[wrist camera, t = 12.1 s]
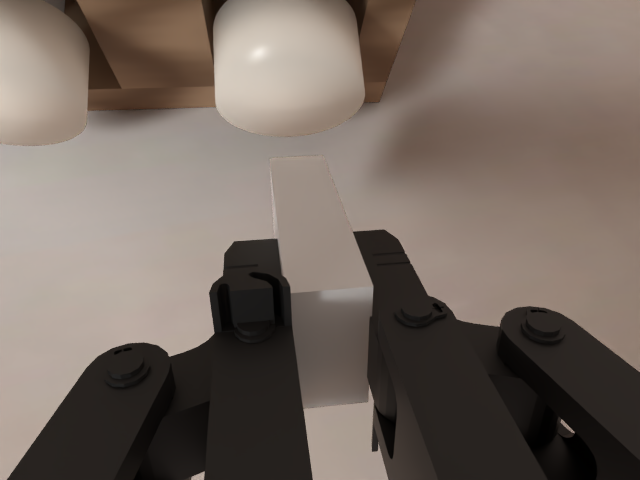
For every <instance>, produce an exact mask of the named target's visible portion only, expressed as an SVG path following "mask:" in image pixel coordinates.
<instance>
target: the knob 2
mask: <svg viewBox="0 0 640 480" xmlns="http://www.w3.org/2000/svg"><path fill="white" fill-rule="evenodd" d="M213 47H214V78H215V104H216V107H217V110H218V112H219V113H220V115H221V116H222V117H223V118H224V119H225V120H226V121H228V122H229V123H230V124H232V125H234V126H236V127H238V128H240V129H242V130H245V131H248V132H251V133H255V134H260V135H266V136H277V137H291V136H302V135H309V134H314V133H318V132H322V131H325V130H328V129H331V128H333V127H335V126H338V125H340V124H342V123H343V122H345V121H347V120H348V119H350V118H351V117H352V116H353V115H355V113H356V112H357V111H358V110H359V109H360V107H361V106H362V104H363V102H364V98H365V88H364V79H363V71H362V62H361V54H360V45H359V36H358V28H357V20H356V16H355V13H354V11H353V9H352V7H351V6H350V5H349V3H348V2H347V1H346V0H228V1H226V2H225V3H224V4H223V6H222V7H221V8H220V9H219V11H218V13H217V15H216V17H215V20H214V24H213Z"/></svg>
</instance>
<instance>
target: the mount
mask: <svg viewBox="0 0 640 480" xmlns="http://www.w3.org/2000/svg"><path fill="white" fill-rule="evenodd" d="M226 1H228V0H65V10H64V14H66V15H67V16H68V17H70V18H71V19H72V20H73V21H74V22H75V23H76V24H77V25H78V26H79V27H80V29H81V30H82V31H83V33H84V34H85V36H86V38H87V40H88V43H89V47H90V56H89V81H88V105H87V111H94V110H127V109H161V108H195V107H216V104H215V78H214V47H213V24H214V20H215V17H216V15H217V13H218V11H219V9H220V8H221V7H222V6H223V4H224V3H225V2H226ZM346 1H347V2H348V3H349V5H350V6H351V7H352V9H353V11H354V13H355V16H356V20H357V28H358V36H359V45H360V54H361V62H362V71H363V79H364V88H365V98H364V102H379V101H380V98H381V96H382V93H383V90H384V87H385V85H386V82H387V79H388V76H389V74H390V71H391V68H392V65H393V63H394V60H395V57H396V54H397V52H398V49H399V46H400V43H401V41H402V38H403V35H404V32H405V30H406V27H407V24H408V21H409V19H410V16H411V13H412V10H413V7H414V5H415V2H416V0H346Z"/></svg>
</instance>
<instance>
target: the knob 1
mask: <svg viewBox="0 0 640 480" xmlns="http://www.w3.org/2000/svg"><path fill="white" fill-rule="evenodd" d="M64 10H65V0H0V144H7V145H19V146H39V145H49V144H55V143H60V142H64V141H67V140H70V139H72V138H74V137H76V136H77V135H79V134H80V133H81V132H82V131H83V130H84V129H85V127H86V124H87V105H88V81H89V56H90V47H89V43H88V40H87V38H86V36H85V34H84V33H83V31H82V30H81V29H80V27H79V26H78V25H77V24H76V23H75V22H74V21H73V20H72V19H71V18H70V17H68V16H67V15H66V14H64Z"/></svg>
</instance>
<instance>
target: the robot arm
mask: <svg viewBox="0 0 640 480" xmlns="http://www.w3.org/2000/svg"><path fill="white" fill-rule="evenodd" d="M269 160H270V177H271V194H272V211H273V227H274V239H264V240H250V241H235V242H234V243H233V244H232V245H231V246H230V248H229V249H228V250H227V251H226V252H225V254H224V270H223V276H222V277H221V278H219V279H218V280H217V281H216V282H215V283H213V285H212V287H211V290H210V292H209V295H210V303H211V310H212V317H213V325H214V332H215V334H214V335H213V336H212V337H211V338H210V339H209V340H208V341H206V342H205V343H203V344H201V345H200V346H198V347H196V348H194V349H191V350H189V351H186V352H183V353H180V354H177V355H174V356H171V357H169V356H168V353H167V352H166V351H165V350H163V349H162V348H160V347H159V346H157V345H153V344H148V343H129V344H125V345H122V346H119V347H115V348H112V349H110V350H109V351H107V352H105V353H103V354H102V355H100V356H98V357H97V358H96V359H95V360H94V361H93V362H92V363H91V364H90V365H89V366H88V367H87V368H86V369H85V371H84V372H83V374H82V375H81V376H80V378H79V379H78V381H77V382H76V383H75V385H74V386H73V388H72V389H71V391H70V392H69V393H68V395H67V396H66V398H65V399H64V400H63V402H62V403H61V405H60V406H59V407H58V409H57V410H56V412H55V413H54V414H53V416H52V417H51V419H50V420H49V421H48V423H47V424H46V426H45V427H44V428H43V430H42V431H41V433H40V434H39V436H38V437H37V438H36V440H35V441H34V443H33V444H32V445H31V447H30V448H29V450H28V451H27V452H26V454H25V455H24V457H23V458H22V459H21V461H20V462H19V464H18V465H17V466H16V468H15V469H14V471H13V472H12V473H11V475H10V476H9V478H8V479H7V480H191V477H192V476H194V475H197V474H199V473H201V472H204V471H205V477H204V480H313V479H312V471H311V464H310V456H309V449H308V441H307V434H306V426H305V419H304V411H303V409H305V408H314V407H324V406H334V405H343V404H353V403H362V402H368V391H369V385H370V389H371V392H372V396H373V399H374V411H373V429H372V452H373V451H378V442H379V446H380V450H381V453H382V457H383V461H384V464H385V468H386V472H387V476H388V479H389V480H640V372H638V371H637V370H636V369H634V368H633V367H632V366H631V365H629V364H628V363H627V362H625V361H624V360H623V359H622V358H620V357H619V356H618V355H616V354H615V353H614V352H612V351H611V350H610V349H609V348H607V347H606V346H605V345H603V344H602V343H601V342H600V341H598V340H597V339H596V338H594V337H593V336H592V335H590V334H589V333H588V332H587V331H585V330H584V329H583V328H581V327H580V326H579V325H578V324H576V323H575V322H574V321H572V320H571V319H569V318H567V317H565V316H564V315H562V314H560V313H558V312H555V311H552V310H549V309H546V308H540V307H531V306H528V307H519V308H515V309H513V310H511V311H509V312H506V314H505V315H504V317H503V318H502V320H501V324H500V327H495V326H488V325H480V324H473V323H468V322H463V321H460V320H457V319H456V317H455V316H454V314H453V312H452V311H451V310H450V309H449V307H448V306H447V305H446V304H445V303H443V302H441V301H439V300H438V299H436V298H434V297H430V296H428V295H427V293H426V291H425V289H424V287H423V285H422V283H421V281H420V279H419V278H418V276H417V274H416V272H415V270H414V268H413V266H412V264H410V261H409V259H408V257H407V255H406V254H405V251H404V249H403V247H402V245H401V244H400V242H399V240H398V239H397V238H395V237H394V236H393V235H391V234H390V233H388V232H387V231H386V230H371V231H357V232H352V229H351V226H350V224H349V221H348V219H347V216H346V213H345V211H344V208H343V206H342V203H341V200H340V198H339V195H338V193H337V190H336V187H335V185H334V182H333V179H332V177H331V174H330V172H329V169H328V166H327V164H326V161H325V159H324V156H323V155H314V156H295V157H276V158H269ZM561 419H562V420H563V421H564V422H565V423H566V424H567V425H568V426H569V427H570V428H571V429H572V430H573V431H574V432H575V434H574V433H571V432H570V431H569V430H568V429H566V428H565V427H564V426H563V425H562V424H561V423H560V421H561Z"/></svg>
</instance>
